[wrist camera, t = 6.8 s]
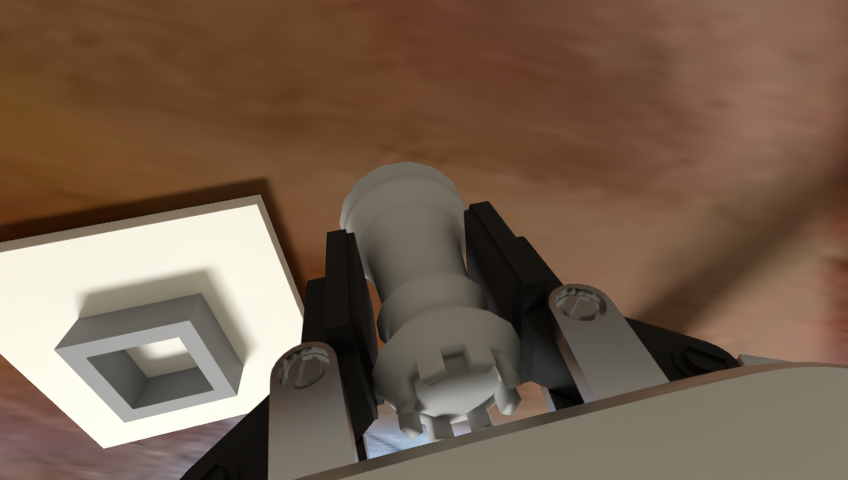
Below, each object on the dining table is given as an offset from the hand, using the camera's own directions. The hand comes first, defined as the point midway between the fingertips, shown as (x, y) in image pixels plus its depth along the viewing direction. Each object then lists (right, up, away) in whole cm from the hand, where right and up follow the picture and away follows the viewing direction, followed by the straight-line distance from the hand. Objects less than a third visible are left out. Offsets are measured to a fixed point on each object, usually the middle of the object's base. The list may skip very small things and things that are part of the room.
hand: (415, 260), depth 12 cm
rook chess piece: (-1, +2, +3) cm, 3 cm away
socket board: (-19, -7, +19) cm, 28 cm away
